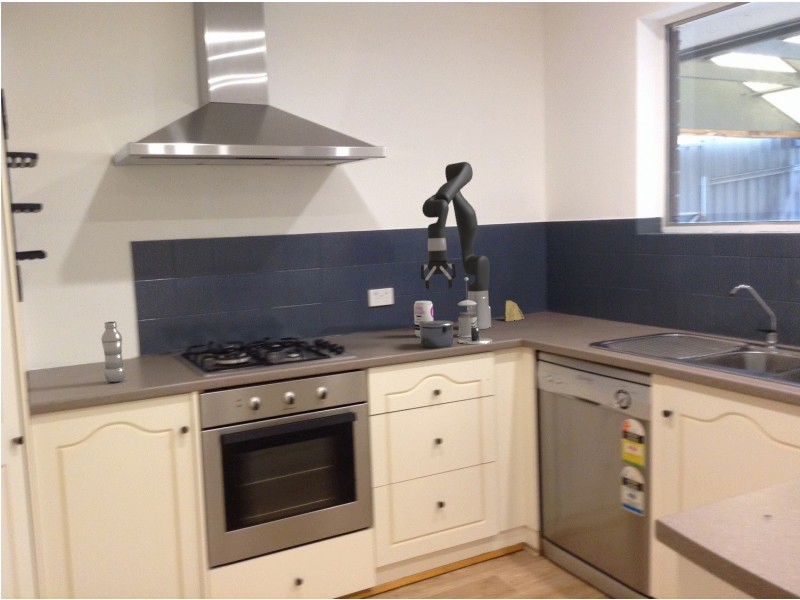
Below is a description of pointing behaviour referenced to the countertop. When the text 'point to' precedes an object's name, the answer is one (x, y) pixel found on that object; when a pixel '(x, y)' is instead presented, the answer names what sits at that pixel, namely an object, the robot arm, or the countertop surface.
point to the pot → (436, 334)
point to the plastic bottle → (113, 353)
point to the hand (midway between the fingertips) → (438, 289)
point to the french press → (466, 318)
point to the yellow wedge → (512, 311)
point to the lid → (475, 338)
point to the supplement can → (422, 314)
